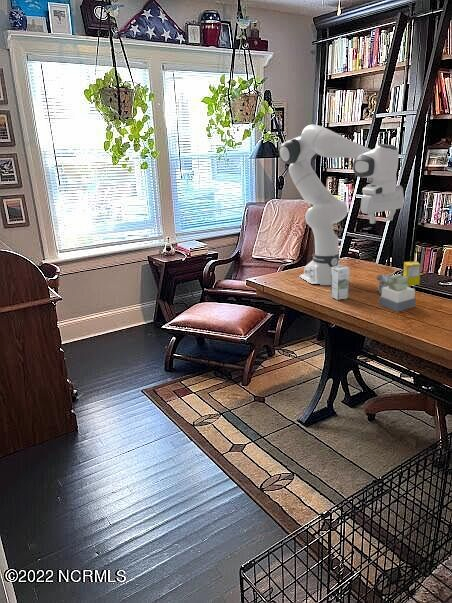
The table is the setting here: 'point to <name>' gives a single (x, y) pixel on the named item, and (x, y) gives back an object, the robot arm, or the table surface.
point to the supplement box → (412, 273)
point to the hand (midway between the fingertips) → (381, 221)
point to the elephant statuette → (383, 281)
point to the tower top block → (398, 294)
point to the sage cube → (398, 282)
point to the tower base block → (397, 304)
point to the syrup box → (340, 282)
